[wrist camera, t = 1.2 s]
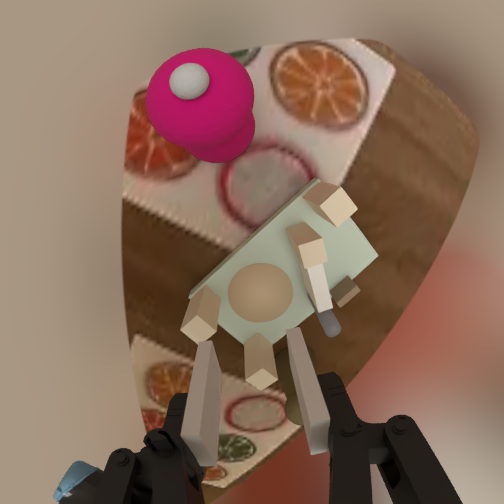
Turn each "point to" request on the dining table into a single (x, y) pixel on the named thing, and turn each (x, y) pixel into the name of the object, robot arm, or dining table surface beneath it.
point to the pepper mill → (203, 104)
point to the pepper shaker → (290, 384)
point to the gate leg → (311, 263)
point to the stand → (279, 279)
